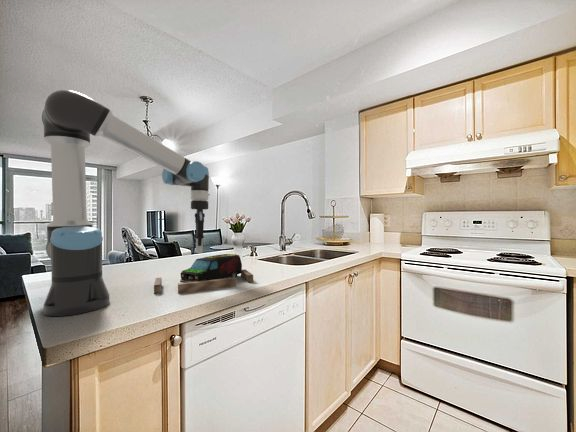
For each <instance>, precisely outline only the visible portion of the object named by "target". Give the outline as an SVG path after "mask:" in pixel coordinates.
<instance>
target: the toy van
mask: <svg viewBox="0 0 576 432" xmlns="http://www.w3.org/2000/svg"><path fill="white" fill-rule="evenodd" d="M242 267H243V264H242V260H241V257H240V255H239V254H233V253H224V254H223V253H222V254H216V255H210V256H205V257H202V258H196V259H195V260H194V262H193V263H192V265H191V266H190V267H189V268H187V269H184V270H182V271H181V272H180V279H179V280H180V281H179V283H186V282H195V281H205V280H214V279H224V278H233V277H235V278H236V279H237V278H238V275H241V270H243V268H242Z"/></svg>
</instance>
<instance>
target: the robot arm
mask: <svg viewBox="0 0 576 432" xmlns="http://www.w3.org/2000/svg"><path fill="white" fill-rule="evenodd" d="M43 107H44V108H43V110H42V113H41V121H42V125H43V140H44V141H46V142H47V143H48V144H49V146H50V159H51V160H50V161H51V162H50V163H51V191H52V221H50V222H49V223H48V224H47V225H46V238H47V239H46V240H47V241H46V246H45V251H46V255H47V257H48V258H49V259H50V262H51V264H50V265H51V266H50V267H51V268H50V269H51V286H50V287H49V289H48V292H47V295H46V298H45V301H44V303H43V308H42V309H43V311H42V312H43V315H44V316H48V317H65V316H66V317H67V316H73V315H78V314H85V313H88V312H89V313H90V312H92V311H95V310H99V309H101V308H103V307H106V306H107V305H108V304H110V299H111V297H110V293H109V291H108V288H107V286H106V283H105V281H104V278H103V239H104V237H103V235H102V234H103V233H102V230H101V229H100V228H98V227H95V226H94V227H93V223H92V222H90V221H89V220H88V218H87V217H88V215H87V214H88V213H87V179H86V175H87V174H86V148H88V147H90V145H91V135H92V136H94V137H103V138H104V139H106V140H108V141H111V142H112V143H114V144H116V145H117V146H119V147H122V148H123V149H125V150H127V151H129V152H131V153H133V154H135V155H137V156H139V157H141V158H143V159H145V160H146V161H148V162H150V163H152V164H154V165H156V166H157V167H160V168H162V174H161V179H162V182H163V183H164V184H166V185H170V186H181V187H182V186H183V187H190V200H191V201H190V210H196V213H194V219H195V220H194V222H195V236H194V239H195V253H196V254H203V253H204V252H203V249H204V248H203V246H204V242H203V240H204V238H205V237H204V229H205V227H204V225H205V217H206V216H205V213H204V210H208V209H209V196H211V195H210V193H209V188H210V187H209V186H210V185H209V184H210V182H209V181H210V180H209V178H210V173H209V168H208V167H207V166H205V165H204V164H203V163H202V162H200V161H196V160H195V161H194V160H192V161H191V160H190V159H187V157H184V156H182V155H181V154H180V153H177V152H176V151H174V150H172V149H171V148H169V147H167V146H166V145H164V144H162V143H161V142H159V141H158V140H155V139H154V138H152V137H151V136H149V135H147V134H146V133H144V132H142V131H141V130H140V129H137V128H135V127H134V126H132V125H131V124H129V123H127V122H125V121H124V120H122V119H120V118H118V117H117V116H115V115H114V114H113V111H112V109H110V108H108V107H106V106H105V105H104V104H102V103H100V102H98V101H96V100H94V99H93V98H91V97H89V96H87V95H85V94H83V93H80V92H77V91H74V90H70V89H59V90H56V91H52V92H51V93H50V94H49V95H48V96H47V98H46V100H45V101H44V106H43Z"/></svg>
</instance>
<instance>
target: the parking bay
mask: <svg viewBox="0 0 576 432" xmlns="http://www.w3.org/2000/svg"><path fill="white" fill-rule="evenodd" d="M240 277H241V278H242V279H243V280H245V282H247V283H248V284H251V283H253V284H254V274H253V273H251V272H250V271H249V270H247V269H242V270H241V273H240ZM162 282H163V281H162V277H161V276H160V277H155V279H154V284H153V294H154V295H157V294H161V292H162V285H163V283H162ZM234 287H236V288H237V278H235V277H233V278H230V277H228V278H224V279H214V280H205V281H195V282H186V283H182V282H179V283H177V294H184V293H185V294H186V293H194V292H202V291H210V290H216V289H217V290H219V289H227V288H234Z"/></svg>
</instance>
